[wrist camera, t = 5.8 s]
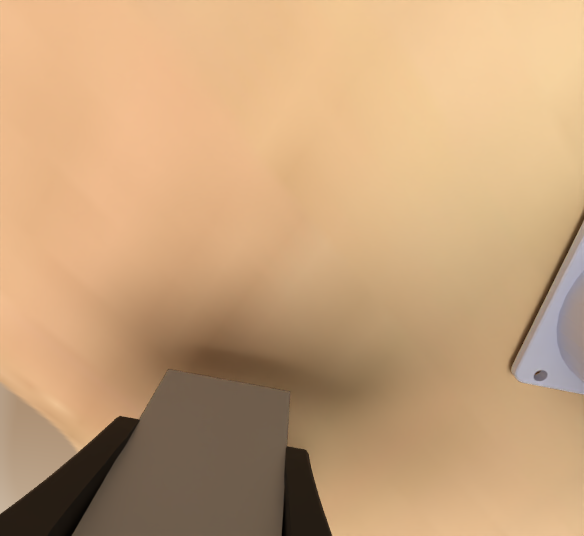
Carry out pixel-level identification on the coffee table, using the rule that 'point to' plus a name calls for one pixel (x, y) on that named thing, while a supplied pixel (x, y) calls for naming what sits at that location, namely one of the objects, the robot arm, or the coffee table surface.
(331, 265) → the coffee table surface
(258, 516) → the tile
